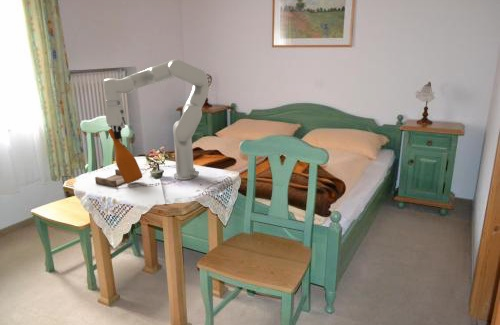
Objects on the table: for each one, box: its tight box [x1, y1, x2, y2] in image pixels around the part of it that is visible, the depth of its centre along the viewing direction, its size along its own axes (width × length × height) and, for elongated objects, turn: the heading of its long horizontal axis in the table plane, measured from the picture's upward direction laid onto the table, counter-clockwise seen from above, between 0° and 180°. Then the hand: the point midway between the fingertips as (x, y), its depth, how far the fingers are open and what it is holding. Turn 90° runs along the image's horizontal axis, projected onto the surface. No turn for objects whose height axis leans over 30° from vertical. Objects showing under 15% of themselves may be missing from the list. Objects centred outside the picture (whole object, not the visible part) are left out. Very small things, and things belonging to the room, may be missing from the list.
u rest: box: [94, 168, 126, 188], centre depth 210 cm, size 14×15×4 cm
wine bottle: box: [107, 127, 143, 185], centre depth 203 cm, size 10×10×30 cm
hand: (118, 138), depth 201 cm, fingers closed
